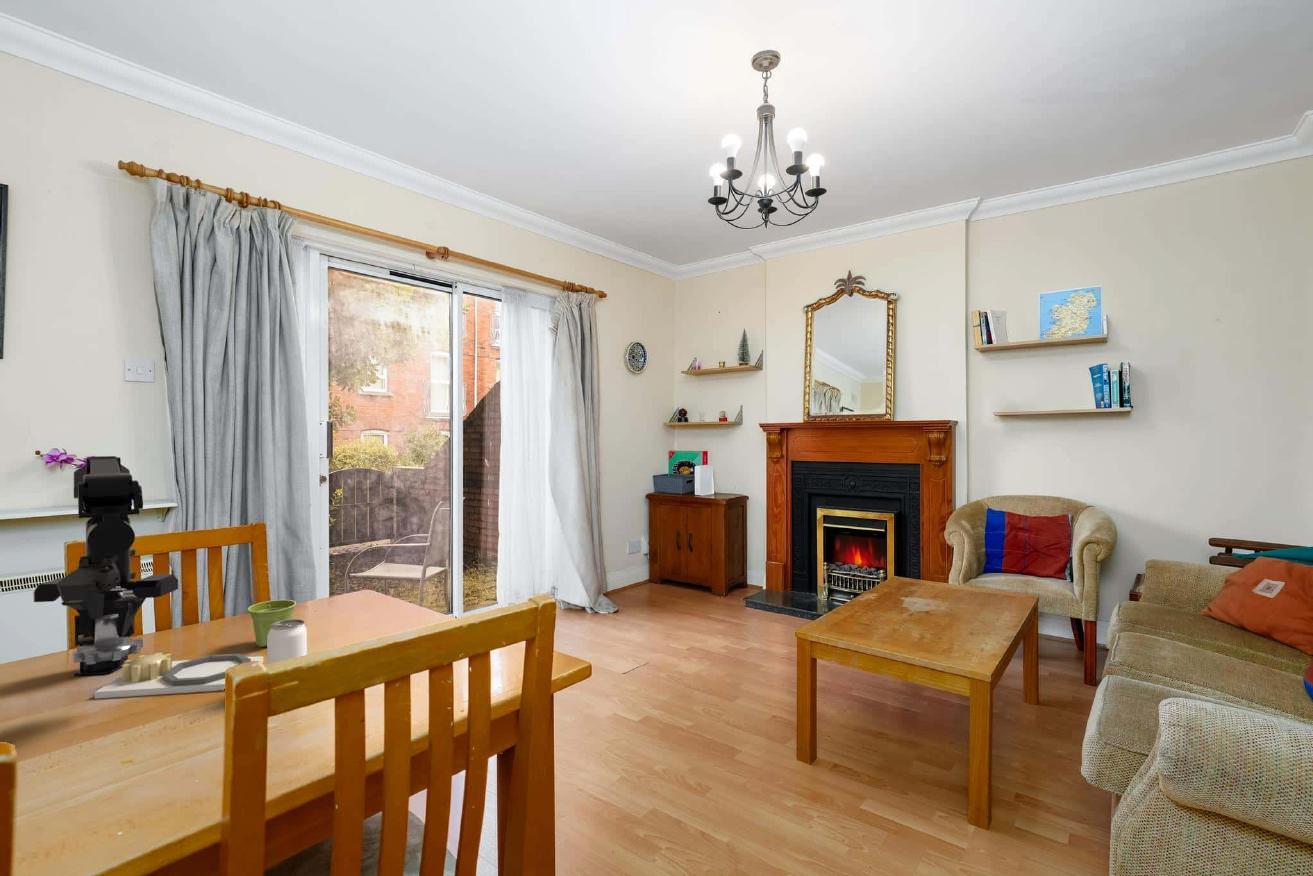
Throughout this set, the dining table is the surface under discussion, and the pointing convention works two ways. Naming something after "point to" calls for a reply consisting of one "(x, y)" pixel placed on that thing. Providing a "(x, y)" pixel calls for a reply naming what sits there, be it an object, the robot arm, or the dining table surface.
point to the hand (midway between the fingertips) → (109, 637)
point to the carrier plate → (172, 675)
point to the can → (286, 640)
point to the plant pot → (269, 617)
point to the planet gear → (107, 643)
